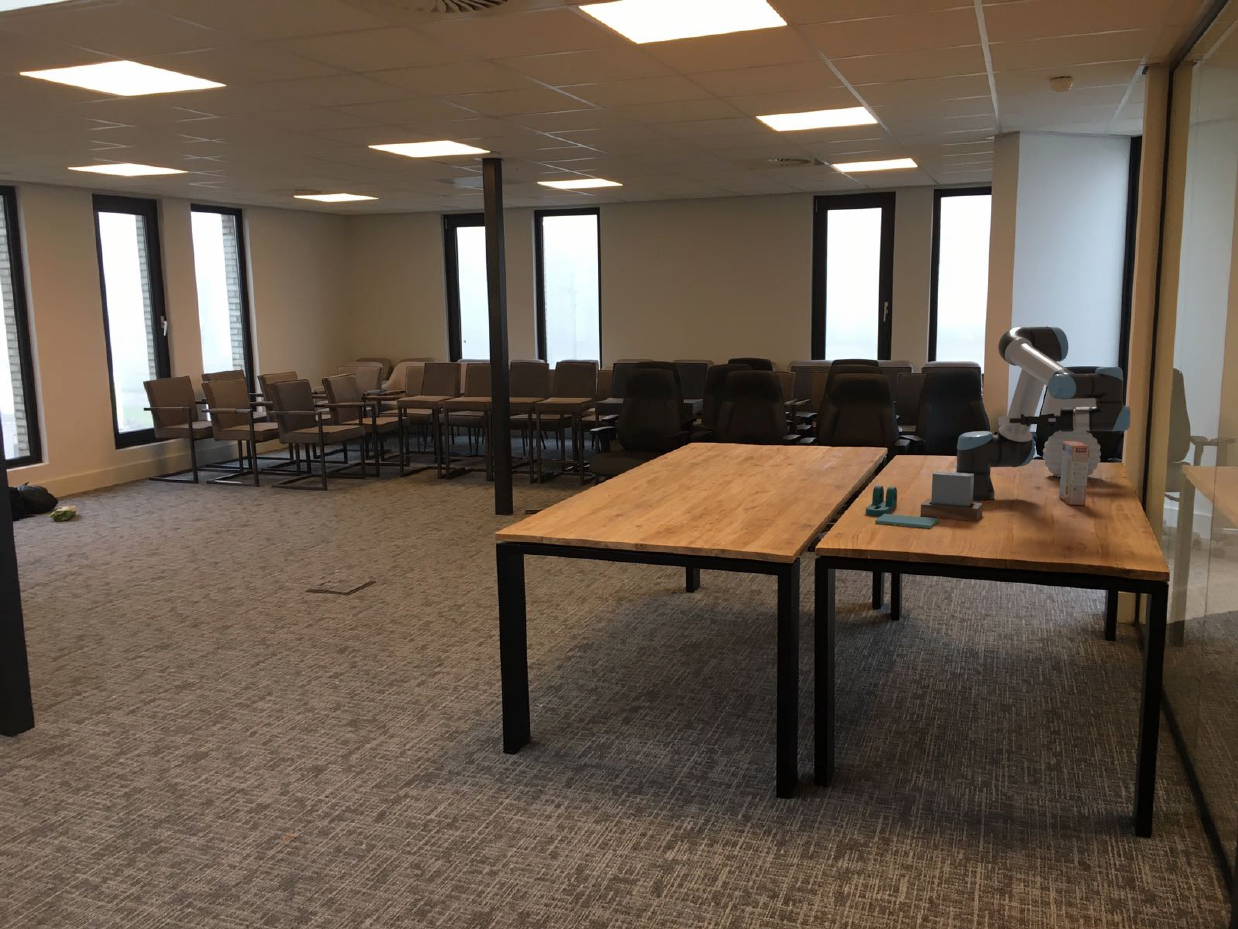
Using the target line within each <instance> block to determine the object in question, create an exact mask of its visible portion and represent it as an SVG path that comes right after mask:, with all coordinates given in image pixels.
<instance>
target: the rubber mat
mask: <svg viewBox="0 0 1238 929" xmlns="http://www.w3.org/2000/svg"><path fill="white" fill-rule="evenodd" d="M938 521H939V518H932V517H921V516H911V515H904V514H903V515H901V514H890V513H889V514H883V515H882V516H878V518H877V519H875V520H874V522H875V523H878V524H877V525H886V524H895V525H894V526H896V525H902V526H901V527H906V526H910V527H909V528H917V527H925V528H924V529H927V528H931V527H932V528H933V527H935V525H936V524H937V523H939V522H938ZM875 523H874V524H875ZM934 524H935V525H934ZM932 528H931V529H932Z"/></svg>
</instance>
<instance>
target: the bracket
mask: <svg viewBox="0 0 1238 929" xmlns="http://www.w3.org/2000/svg"><path fill="white" fill-rule="evenodd" d="M871 500H872V501H871V502H872V503H871V504H869V505H868V506H866V507H865V515H866V514H867V515H866V516H869V515H870V516H871V517H881V516H882V515H883V514H888V513H889V514H890V513H892V512H893V511H895V510H896V509H897V508H896V507H898V488H897V487H896V486H888V487H887V489H886V493H885V489H884V486H883V485H874V486H873V491H872V498H871ZM895 508H896V509H895ZM892 510H893V511H892ZM891 511H892V512H891ZM870 516H869V517H870Z"/></svg>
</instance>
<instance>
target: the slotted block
mask: <svg viewBox="0 0 1238 929" xmlns="http://www.w3.org/2000/svg"><path fill="white" fill-rule="evenodd" d="M919 515H920V516H919V517H921V516H923V517H926V518H932V517H939V518H938V519H943V518H945V519H944V520H954V519H955V520H957V521H965V520H968V521H967V522H977V521H979V520H980V519H981V517H982V516H983V503H982V502H975V501H973V505H972V508H971V507H959V506H947V505H935V504H931V498H927V499H926V500H924V501H923V502H922V503H921V504H920V513H919ZM955 520H954V521H955Z"/></svg>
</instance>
